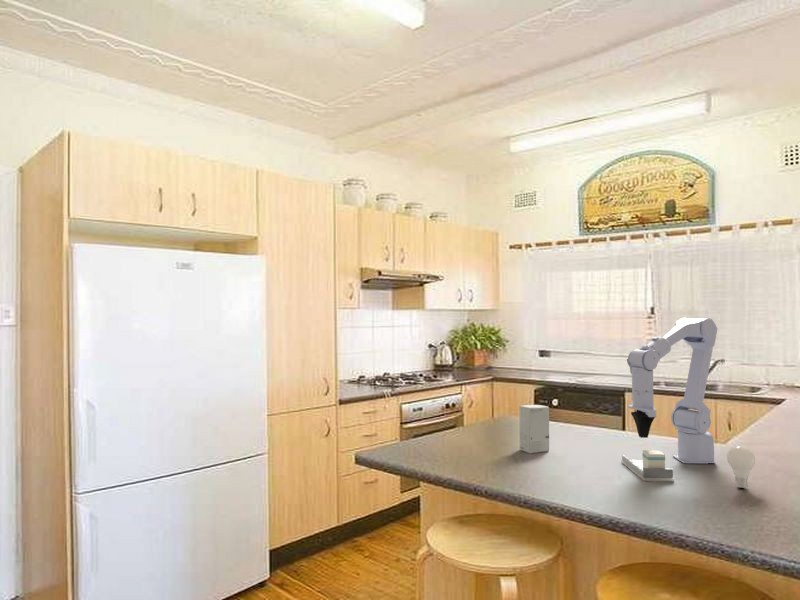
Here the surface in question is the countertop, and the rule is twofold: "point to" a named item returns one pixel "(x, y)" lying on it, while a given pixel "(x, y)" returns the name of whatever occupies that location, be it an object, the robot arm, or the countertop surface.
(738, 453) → the lightbulb
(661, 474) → the rail plate
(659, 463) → the block
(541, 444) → the skincare box
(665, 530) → the countertop surface
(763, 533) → the countertop surface
